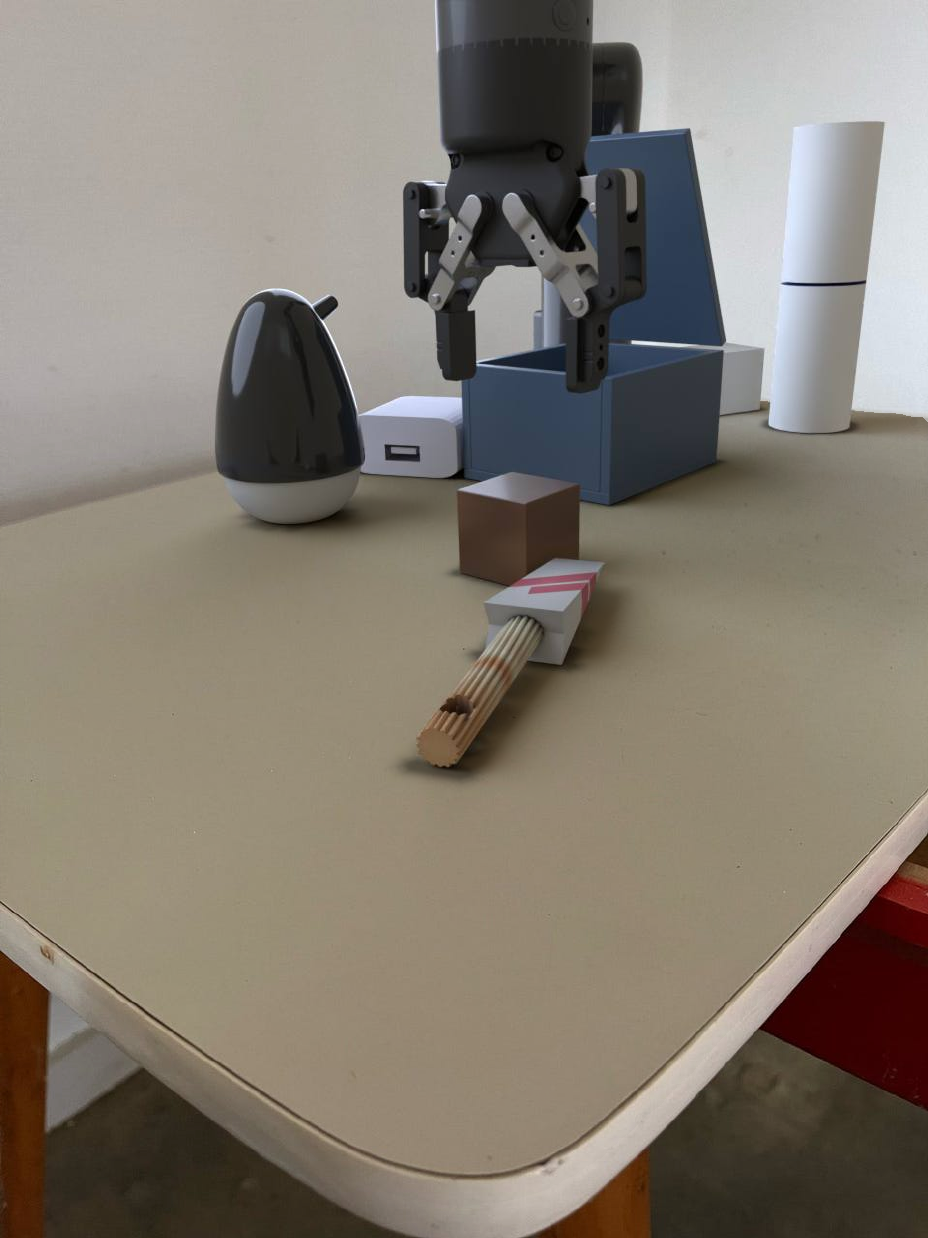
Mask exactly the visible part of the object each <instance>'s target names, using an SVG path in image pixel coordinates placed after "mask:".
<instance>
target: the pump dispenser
mask: <svg viewBox="0 0 928 1238" xmlns="http://www.w3.org/2000/svg"><path fill="white" fill-rule="evenodd" d="M338 308H339V301H338V299H337V297H336V296H334V295H332V294H328V295H326V296H324V297H322V298H321V299H320V300H317V301H315V303H313V304H311V303H310V302H309V301H308V300H307V299H306V298H305V297H303V296H302V295H300V294H298V293H296V292H294V291H292V290H289V289H284V288H269V289H264V290H262V291H259V292H257V293H255V294H254V295H252V296H251V297H250V298H248V300H246V301H245V302H244V304H243V305H242V306H241V308H240V309H239V311H238V312H237V315H236V317H235V320H234V321H233V323H232V326H231V329H230V332H229V335H228V338H227V342H226V345H225V349H224V350H225V351H224V354H223V358H222V363H221V368H220V375H219V380H218V385H217V386H218V387H217V393H216V404H215V418H214V419H215V420H214V421H215V422H214V423H215V424H214V452H215V453H214V455H215V463H216V464H215V465H216V470H217V472H218V473H219V475H220V476H222V477H223V480H224V483H225V487H226V488H227V490H228V492H229V494H230V496H231V498H232V499H233V500H234V501H235V503H236V504H237V505H238V506H239V507H240V508H241V509H242V510H244V512H246V513H247V514H249V515H250V516H252V517H254V518H257V519H258V520H261V521H264V522H268V523H271V524H278V525H279V524H281V525H295V524H296V525H297V524H298V525H299V524H306V523H312V522H316V521H320V520H323V519H326V518H328V517H330V516H332V515H334V514H335V513H337V512H339V511H340V510H341V509H343V508H344V507H345V506H346V504H348V503H349V501H350V500H351V499H352V497H353V496H354V494H355V492H356V489H357V487H358V484H359V481H360V476H361V466H362V465H363V464H364V462H365V447H364V439H363V434H362V429H361V424H360V419H359V415H360V414H359V411H358V406H357V404H356V399H355V395H354V392H353V389H352V385H351V383H350V382H351V381H350V380H349V376H348V374H347V371H346V369H345V366H344V363H343V360H342V358H341V355H340V352H339V351H338V347H337V346H336V344H335V341H334V339H333V337H332V335H331V333H330V331H329V329H328V327H327V325H326V323H325V322H324V321H325V320H326V319H327V318H329V317H330V316H331V315H332V314H333V313H334V312H335V311H336V310H337V309H338Z"/></svg>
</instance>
